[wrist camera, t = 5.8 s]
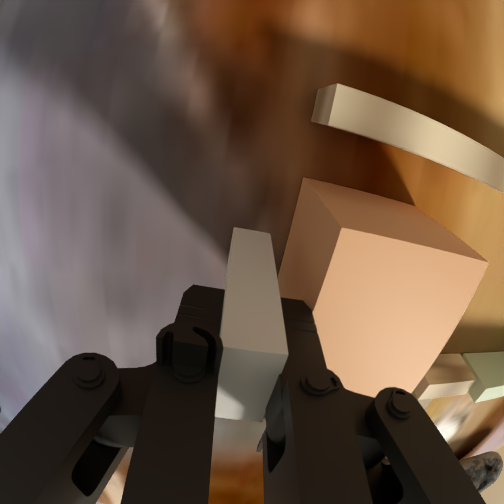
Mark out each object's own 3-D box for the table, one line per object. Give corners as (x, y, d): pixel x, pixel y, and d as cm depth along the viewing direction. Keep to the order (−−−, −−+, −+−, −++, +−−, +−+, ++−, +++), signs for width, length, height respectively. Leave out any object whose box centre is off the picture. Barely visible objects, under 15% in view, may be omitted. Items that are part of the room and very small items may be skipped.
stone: (482, 452, 32) (499, 494, 23) (371, 501, 35) (381, 547, 26) (497, 426, 27) (520, 475, 19) (367, 486, 31) (379, 544, 22)
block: (269, 307, 16) (277, 399, 11) (303, 176, 13) (341, 227, 8) (369, 319, 17) (406, 399, 11) (415, 206, 14) (489, 262, 8)
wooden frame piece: (232, 422, 21) (231, 455, 18) (317, 88, 11) (337, 83, 9) (406, 422, 22) (415, 447, 20) (536, 188, 13) (566, 203, 10)
